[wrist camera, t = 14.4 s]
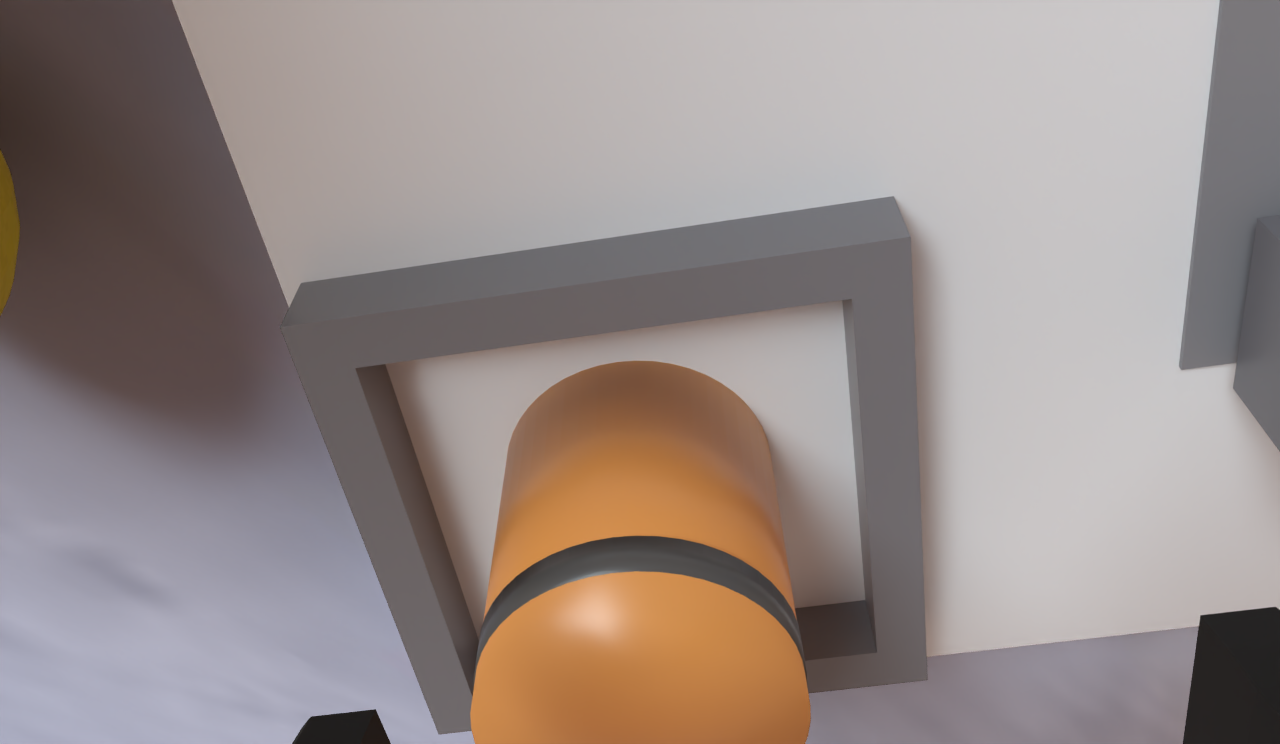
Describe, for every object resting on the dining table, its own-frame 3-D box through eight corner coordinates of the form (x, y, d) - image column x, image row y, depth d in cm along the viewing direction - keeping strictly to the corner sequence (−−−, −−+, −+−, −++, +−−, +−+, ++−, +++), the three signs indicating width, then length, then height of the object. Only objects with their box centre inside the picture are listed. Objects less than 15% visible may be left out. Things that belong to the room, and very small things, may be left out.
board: (2098, -1169, 10) (2502, -1376, 8) (1525, 525, 21) (1629, 635, 19) (-26, -689, 12) (-177, -750, 10) (452, 650, 23) (434, 765, 21)
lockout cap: (758, 341, 17) (797, 580, 13) (784, 553, 20) (823, 812, 16) (477, 379, 18) (430, 624, 14) (535, 582, 20) (510, 843, 16)
